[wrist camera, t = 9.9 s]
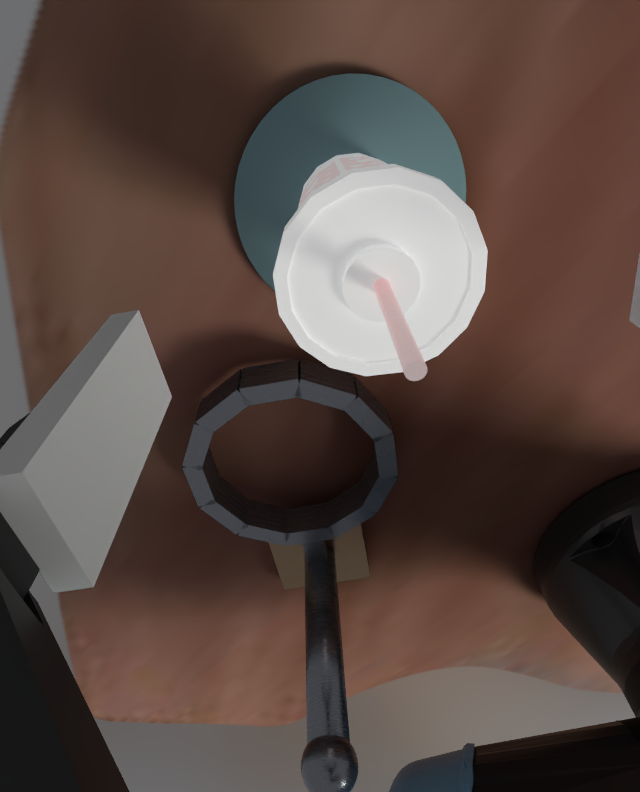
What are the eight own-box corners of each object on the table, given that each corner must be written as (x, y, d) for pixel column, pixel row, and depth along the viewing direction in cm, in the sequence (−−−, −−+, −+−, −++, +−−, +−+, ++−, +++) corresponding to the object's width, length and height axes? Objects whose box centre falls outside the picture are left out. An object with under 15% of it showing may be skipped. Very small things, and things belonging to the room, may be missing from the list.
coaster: (464, 292, 25) (467, 297, 24) (264, 327, 26) (264, 333, 25) (459, 49, 20) (464, 48, 19) (207, 100, 20) (204, 101, 20)
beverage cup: (306, 295, 24) (316, 511, 12) (259, 160, 21) (213, 277, 9) (433, 255, 23) (575, 445, 11) (405, 109, 20) (563, 163, 8)
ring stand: (404, 560, 35) (459, 812, 23) (249, 582, 36) (225, 839, 24) (376, 335, 26) (445, 564, 14) (168, 371, 27) (62, 619, 15)
